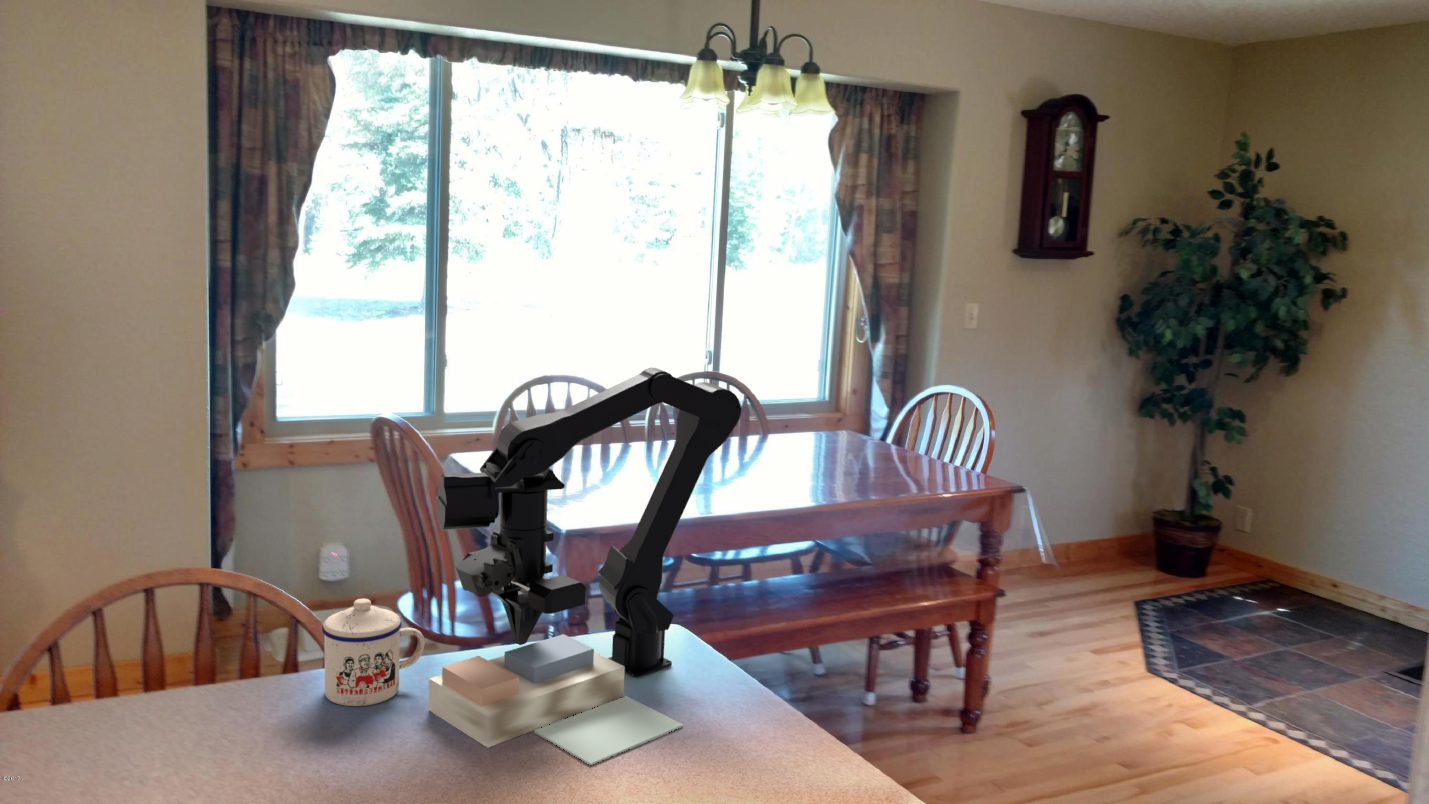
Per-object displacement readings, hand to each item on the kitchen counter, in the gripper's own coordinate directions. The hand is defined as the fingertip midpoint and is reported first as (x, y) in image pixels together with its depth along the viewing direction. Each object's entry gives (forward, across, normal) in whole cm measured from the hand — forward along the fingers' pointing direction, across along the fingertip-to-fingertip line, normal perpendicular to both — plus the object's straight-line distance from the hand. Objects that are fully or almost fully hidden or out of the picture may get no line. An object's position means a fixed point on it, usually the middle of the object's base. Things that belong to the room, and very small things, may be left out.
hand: (520, 643), depth 135 cm
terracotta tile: (+1, +6, -10) cm, 12 cm away
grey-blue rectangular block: (+1, +6, 0) cm, 6 cm away
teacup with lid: (+5, -9, -15) cm, 18 cm away
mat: (+5, +17, 0) cm, 18 cm away
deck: (+5, +6, -3) cm, 8 cm away
